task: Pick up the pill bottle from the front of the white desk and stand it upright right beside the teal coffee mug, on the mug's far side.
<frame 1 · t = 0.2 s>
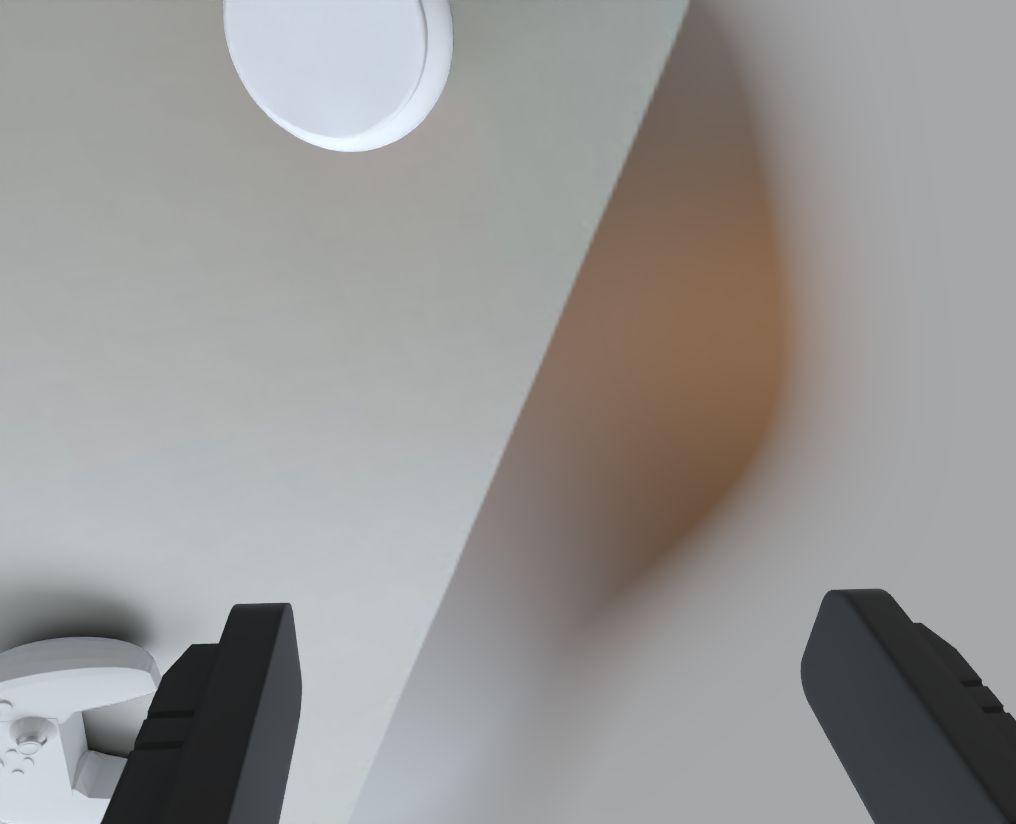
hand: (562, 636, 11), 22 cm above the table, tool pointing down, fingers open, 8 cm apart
pill bottle: (367, 31, 26), on the table
game controller: (87, 704, 41), on the table
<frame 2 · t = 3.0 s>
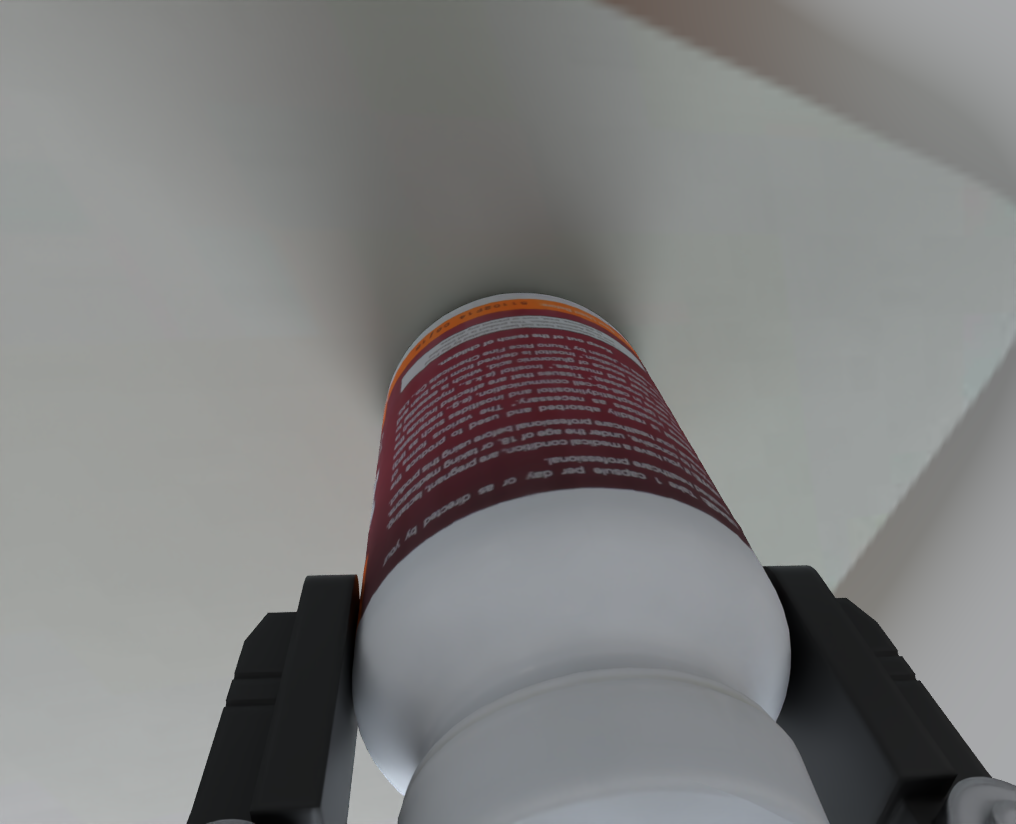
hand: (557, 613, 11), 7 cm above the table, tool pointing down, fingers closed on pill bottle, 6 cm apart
pill bottle: (515, 405, 17), on the table, touching gripper
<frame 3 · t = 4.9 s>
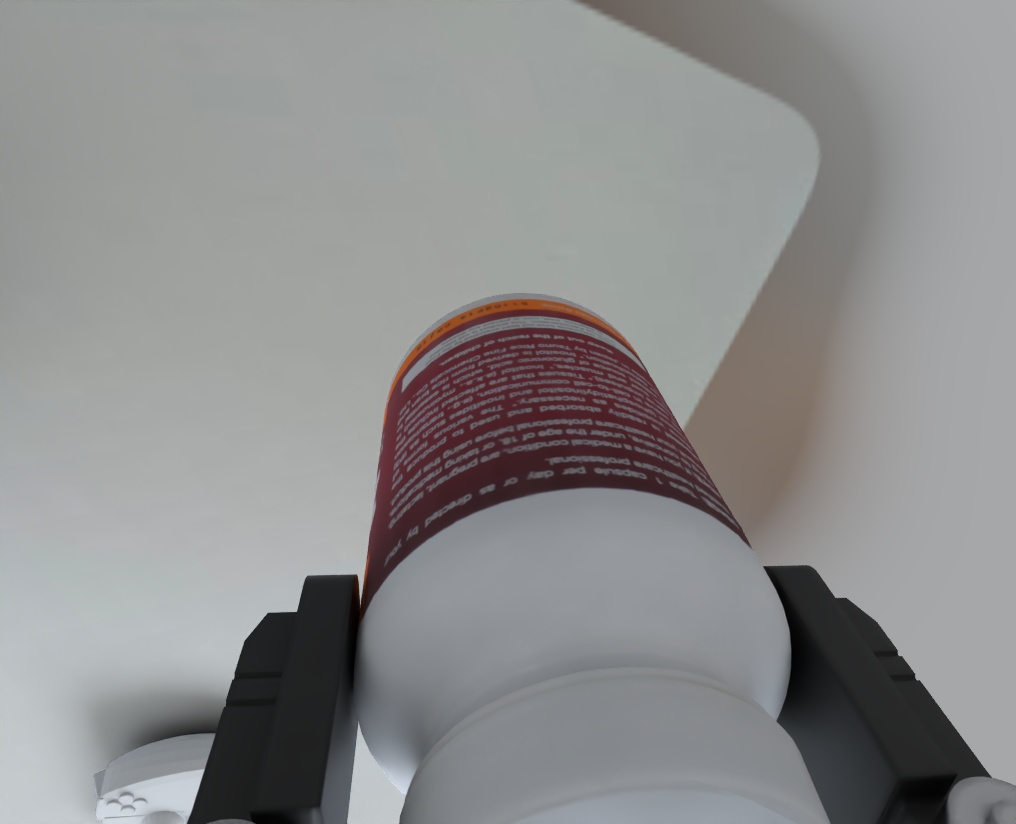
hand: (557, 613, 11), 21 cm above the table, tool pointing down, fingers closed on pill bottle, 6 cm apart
pill bottle: (516, 405, 17), point 14 cm above the table, touching gripper
game controller: (199, 789, 44), on the table
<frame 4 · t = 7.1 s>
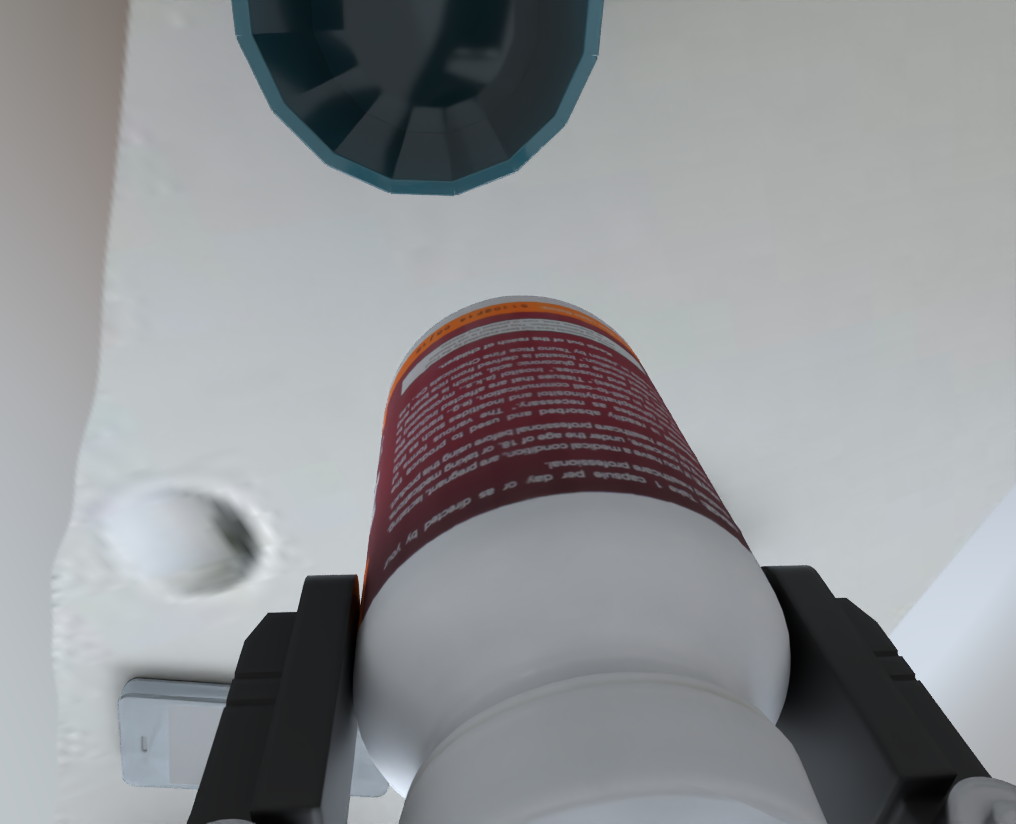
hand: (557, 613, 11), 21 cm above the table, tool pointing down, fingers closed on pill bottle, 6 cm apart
pill bottle: (516, 407, 17), point 15 cm above the table, touching gripper
phone: (266, 729, 43), on the table
teal coffee mug: (427, 12, 25), on the table
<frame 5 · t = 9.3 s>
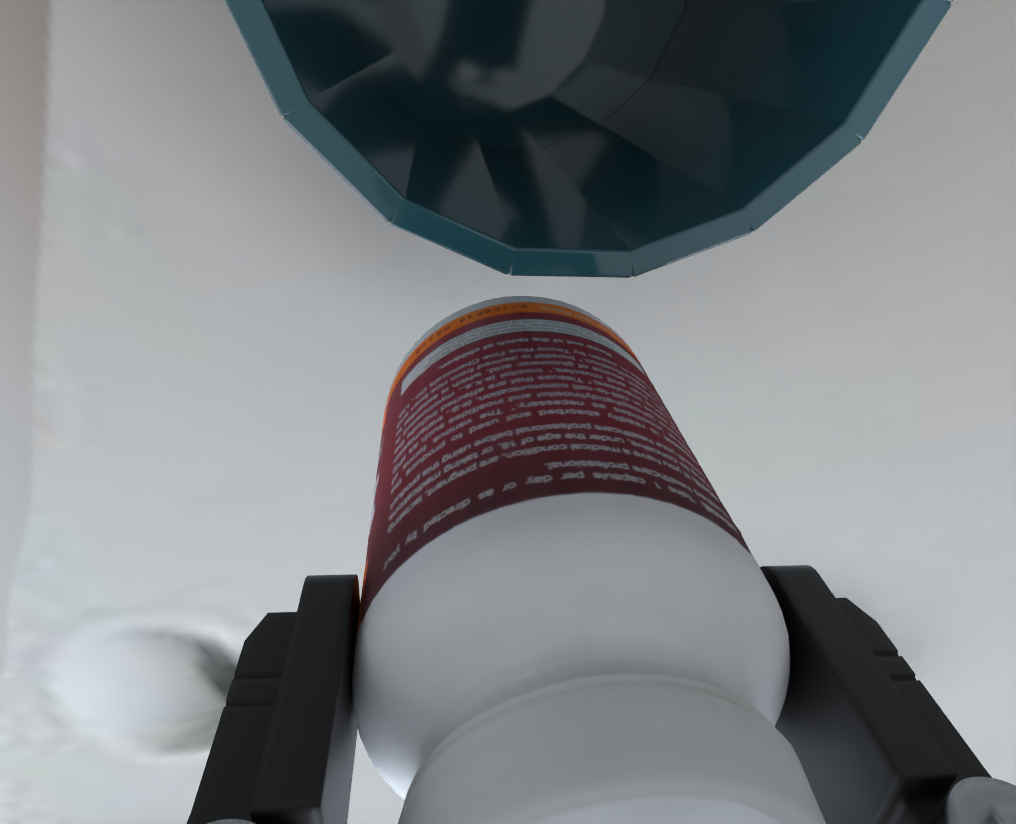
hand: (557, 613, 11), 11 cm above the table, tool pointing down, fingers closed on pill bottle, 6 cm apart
pill bottle: (515, 407, 17), point 4 cm above the table, touching gripper
when the fingers open (7 cm above the table, at t = 11.1 s): pill bottle stays where it is, on the table.
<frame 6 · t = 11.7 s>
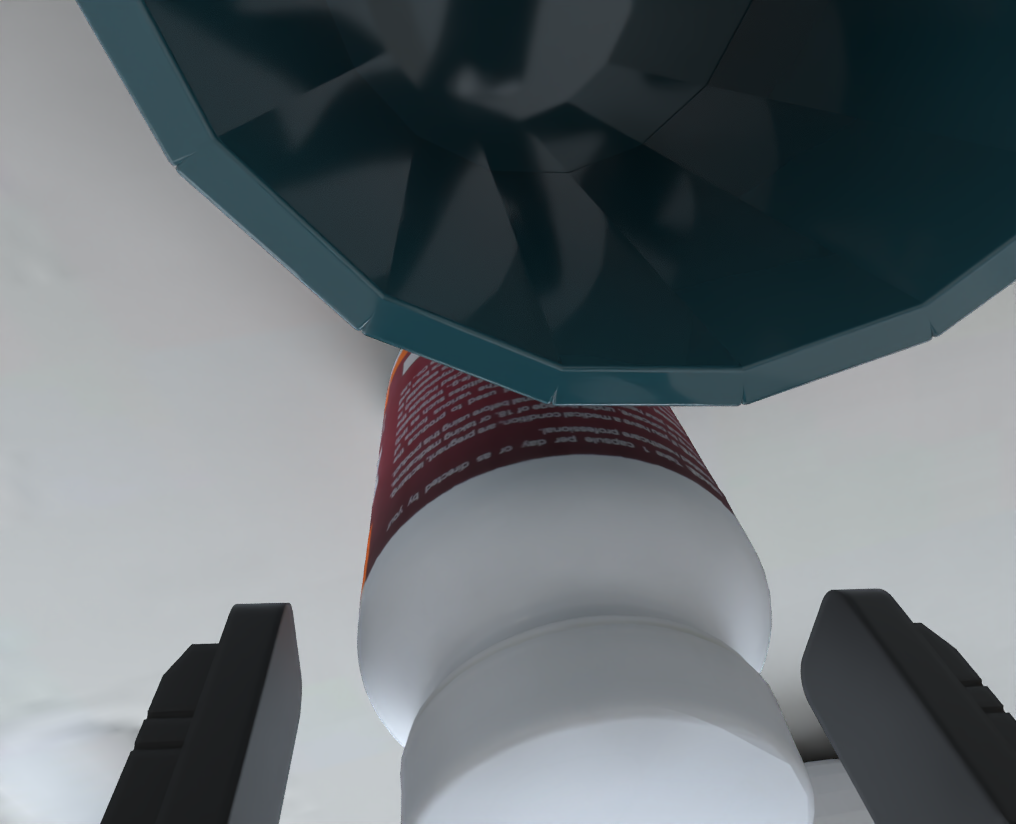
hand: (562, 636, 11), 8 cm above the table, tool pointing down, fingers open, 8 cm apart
pill bottle: (513, 391, 18), on the table
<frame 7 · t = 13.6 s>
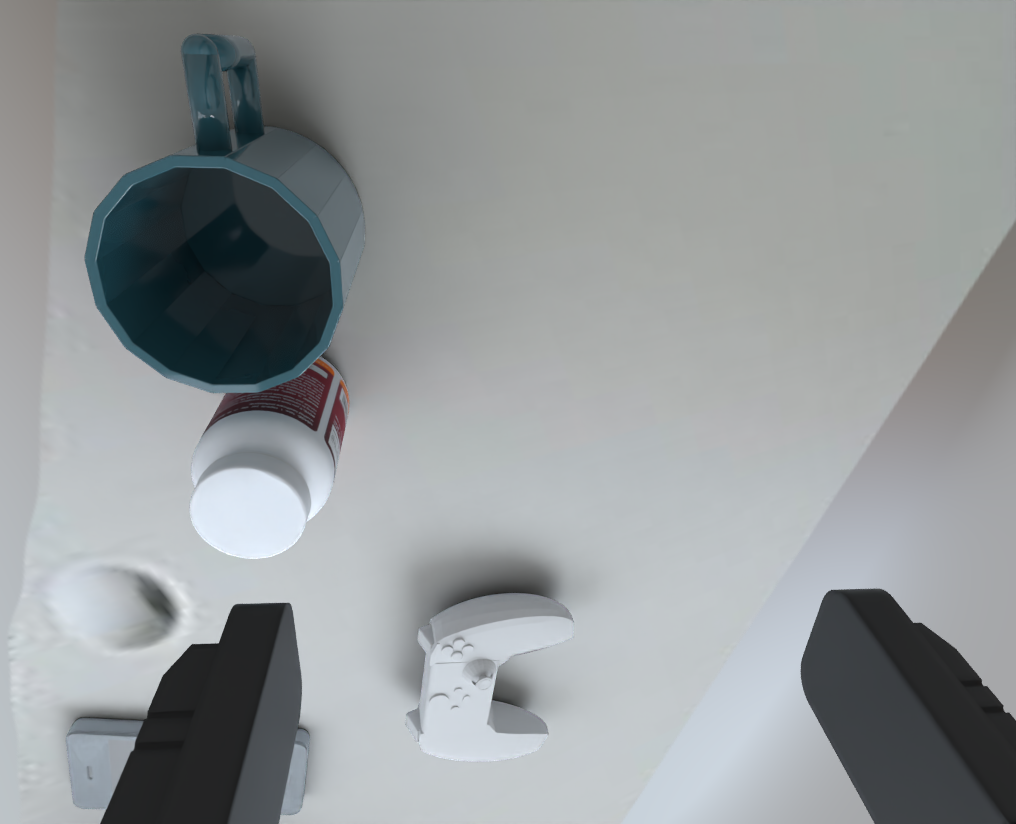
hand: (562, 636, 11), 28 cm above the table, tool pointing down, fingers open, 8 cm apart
pill bottle: (294, 394, 39), on the table
phone: (195, 758, 51), on the table
game controller: (484, 655, 49), on the table
teal coffee mug: (273, 222, 34), on the table
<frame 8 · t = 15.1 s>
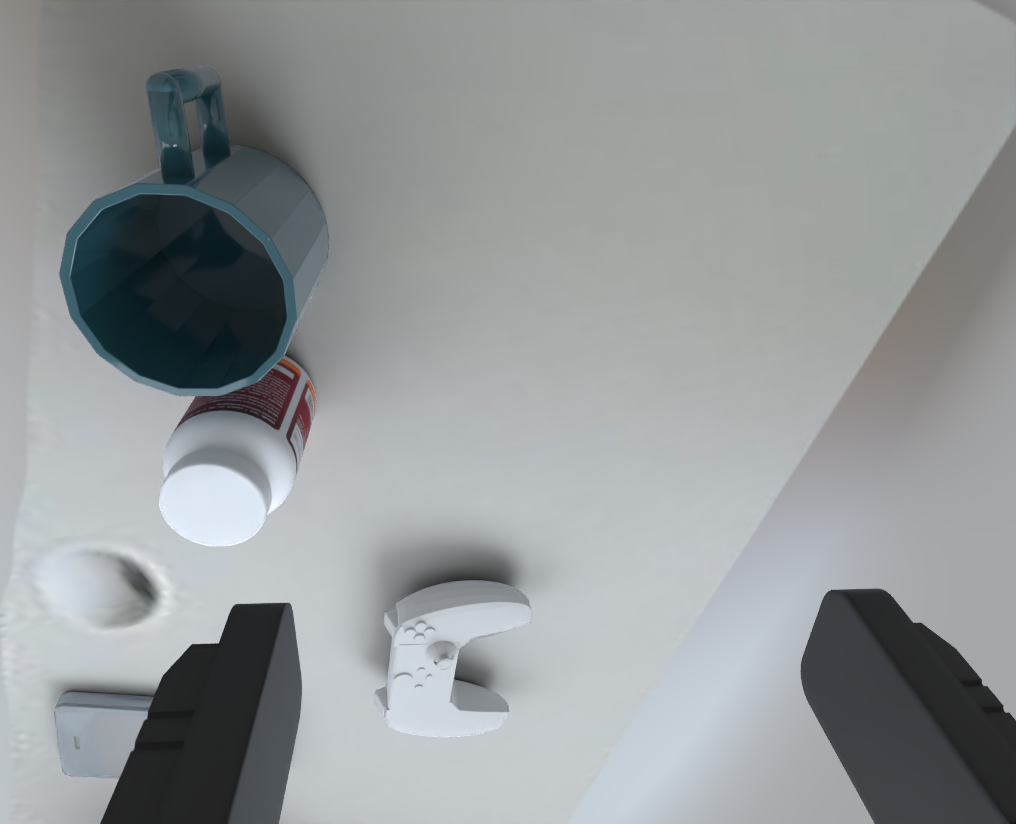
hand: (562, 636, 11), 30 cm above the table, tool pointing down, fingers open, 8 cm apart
pill bottle: (265, 392, 41), on the table
phone: (177, 731, 54), on the table
game controller: (449, 638, 52), on the table
teal coffee mug: (242, 233, 37), on the table
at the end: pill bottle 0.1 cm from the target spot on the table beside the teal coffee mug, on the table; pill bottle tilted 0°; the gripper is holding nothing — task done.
